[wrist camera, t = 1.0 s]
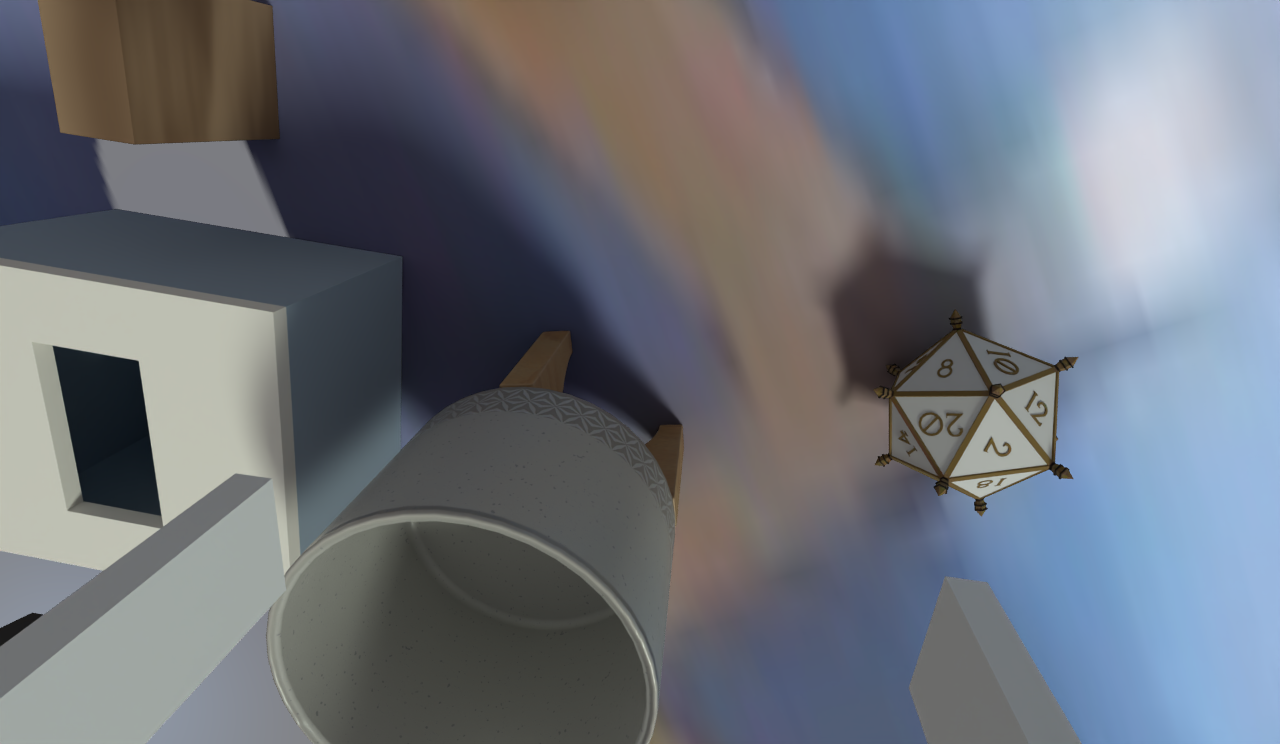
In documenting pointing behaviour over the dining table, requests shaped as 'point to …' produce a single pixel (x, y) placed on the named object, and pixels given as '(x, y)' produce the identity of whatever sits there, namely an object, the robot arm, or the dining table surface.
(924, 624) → the dining table surface
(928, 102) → the dining table surface
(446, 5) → the dining table surface
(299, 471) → the coin box
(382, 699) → the planter
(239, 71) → the block
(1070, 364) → the game die
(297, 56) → the dining table surface
